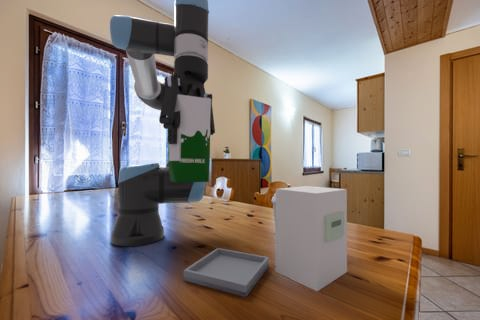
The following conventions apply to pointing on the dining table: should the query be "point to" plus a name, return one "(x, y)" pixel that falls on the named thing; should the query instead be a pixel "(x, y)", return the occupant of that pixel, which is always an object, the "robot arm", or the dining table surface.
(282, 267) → the box
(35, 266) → the dining table surface
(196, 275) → the tray
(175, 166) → the milk carton
